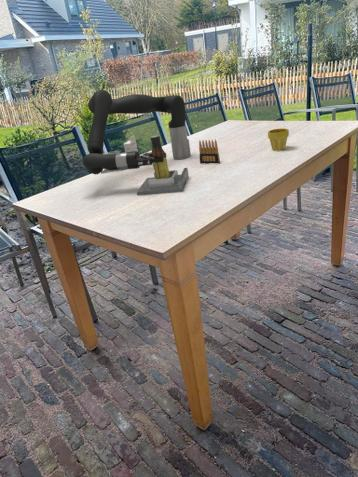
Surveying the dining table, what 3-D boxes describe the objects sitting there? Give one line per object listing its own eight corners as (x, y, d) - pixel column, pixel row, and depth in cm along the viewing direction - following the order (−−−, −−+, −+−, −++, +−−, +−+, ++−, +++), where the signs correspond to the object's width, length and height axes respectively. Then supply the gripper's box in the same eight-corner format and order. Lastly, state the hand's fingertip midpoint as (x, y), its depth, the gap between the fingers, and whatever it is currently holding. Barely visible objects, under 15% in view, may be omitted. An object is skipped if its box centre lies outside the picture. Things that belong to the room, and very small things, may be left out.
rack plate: (188, 176, 172) (187, 166, 170) (182, 191, 154) (181, 179, 152) (147, 180, 176) (145, 170, 173) (137, 195, 158) (135, 184, 156)
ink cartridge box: (131, 160, 220) (126, 135, 214) (139, 159, 219) (134, 134, 213) (127, 164, 213) (121, 138, 207) (135, 163, 212) (130, 137, 205)
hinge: (100, 174, 201) (96, 155, 197) (102, 171, 206) (98, 153, 202) (125, 170, 201) (121, 151, 196) (126, 167, 206) (122, 149, 201)
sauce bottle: (172, 178, 165) (165, 133, 157) (167, 183, 160) (160, 137, 151) (158, 178, 168) (151, 134, 159) (153, 183, 162) (146, 138, 154)
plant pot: (281, 152, 187) (280, 133, 183) (264, 151, 195) (263, 132, 191) (292, 147, 193) (292, 128, 189) (276, 146, 201) (275, 128, 196)
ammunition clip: (220, 162, 187) (217, 138, 182) (218, 163, 185) (216, 139, 180) (201, 162, 192) (198, 139, 187) (200, 163, 191) (197, 140, 186)
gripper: (121, 156, 154) (160, 152, 151) (130, 148, 167) (166, 144, 164) (125, 173, 157) (163, 170, 154) (133, 164, 170) (168, 161, 167)
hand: (164, 157), depth 159 cm, fingers closed on sauce bottle, 6 cm apart
